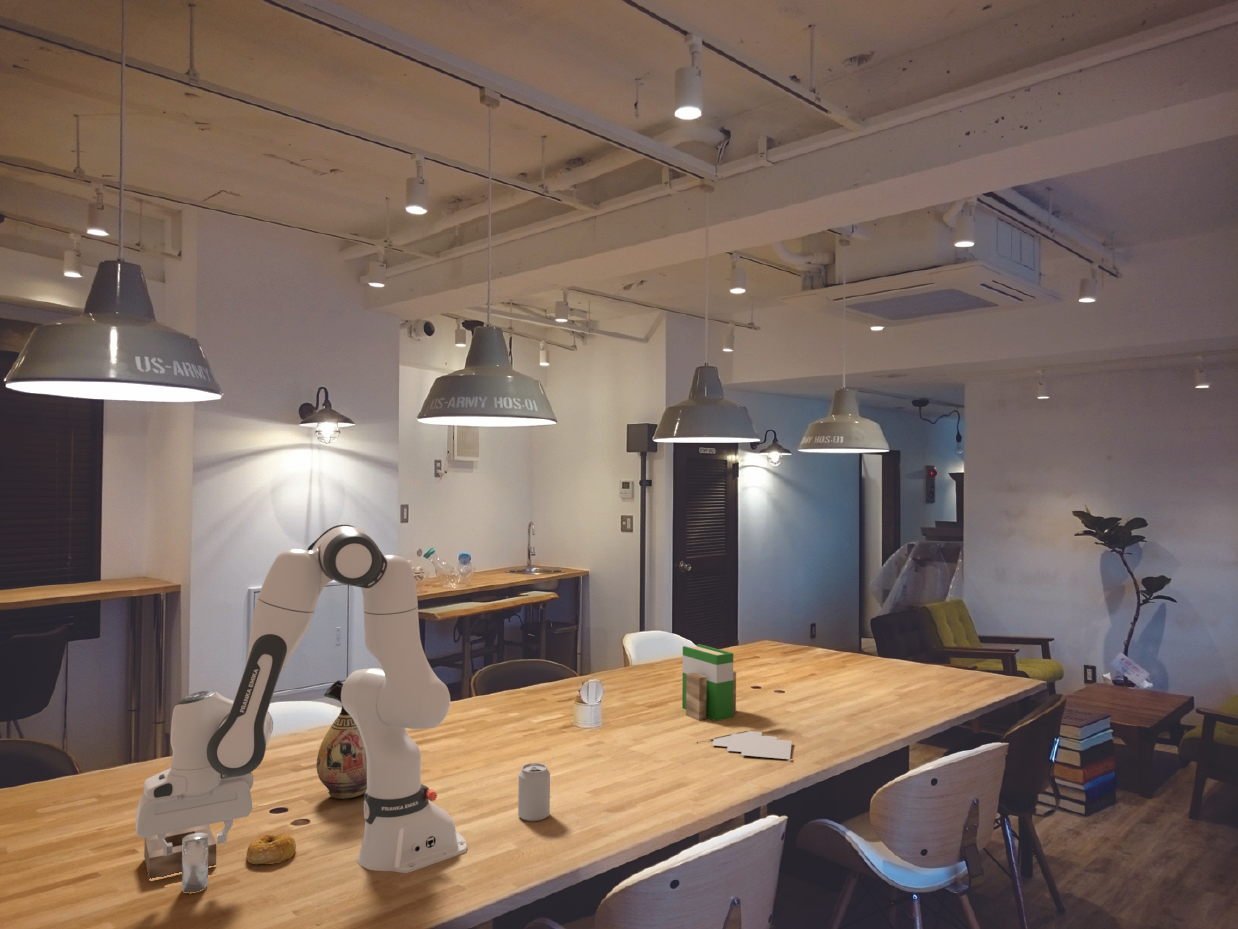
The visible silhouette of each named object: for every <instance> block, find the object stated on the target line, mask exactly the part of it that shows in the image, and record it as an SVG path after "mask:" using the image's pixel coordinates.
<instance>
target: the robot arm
mask: <svg viewBox="0 0 1238 929" xmlns="http://www.w3.org/2000/svg"><path fill="white" fill-rule="evenodd" d="M333 581H335V582H337V583H339V584H341V585H345V586H351V587H358V588H360V590H361V592H362V593H361V594H362V597H363V599H362V603H363V609H362V610H363V622H364V623H363V625H364V626H363V627H364V643H365V647H366V649H367V651H368V652H369V653H370V655H372V656H373V657H374V658H375V660H376V661H377V662H378V663H379V666H380V667H381V668H380V667H379V668H378V667H371V668H362V669H361V668H360V669H357V670H354V671H353V672H352V673H350V674H349V675H348V676H347V677H346V678H345V680H344V682H343V687H342V690H341V702H342V703H341V702H340V703H341V707H342V706H343V708H344V709H345V710H346V711H347V712H348V714H349V715H350V716H351V717H352V719H353V720H354V722H355V724H356V726H357V728H358V730H359V732H360V735H361V738H362V741H363V744H364V748H365V753H366V762H367V790H366V791H365V793H364V800H363V816H364V817H363V818H364V820H365V821H364V830H363V836H362V842H361V847H360V849H359V854H358V856H357V862H358V864H359V865H360V866H361V867H362V866H363V867H362V868H364V869H366V870H370V871H376V872H397V873H399V874H408V873H412V872H414V871H418V870H421V869H423V868H425V867H428V866H432V865H434V864H436V863H440V862H442V861H445V860H449V859H451V858H454V857H456V856H459V855H462V854H465V853H466V852H467V850H468V844H467V841H466V839H465V838H464V836H462V834H460V833H459V832H458V831H457V829H456V825H455V821H454V819H453V818H452V817H451V815H449V813H448V812H446V811H445V810H444V809H443V808H441V807H439V806H437V805H436V804H434V803H433V802H434V801H436V800H437V798H438V794H437V792H436V791H435V790H434V789H432V788H429V786H427V785H425V784H423V783H422V782H421V781H422V752H421V750H420V747H419V745H418V744H417V743H416V742H415V740H413V739H412V738H411V737H410V735H409V733H408V732H407V729H409V730H426V729H435V728H436V727H438V726H439V725H441V723H443V722H444V721H445V719H446V717H447V715H448V714H449V710H450V706H451V694H450V691H449V688H448V686H447V685H446V684H445V683H444V682H443V681H442V680H441V679H440V678H439V677H438V676H437V675H436V673H435V672H434V671H433V668H432V667H431V664H430V663H429V661H428V659H427V656H426V654H425V651H424V649H423V645H422V640H421V633H420V622H419V604H418V602H419V601H418V592H417V585H416V580H415V576H414V571H413V567H412V565H411V563H410V561H409V560H407V558H405V557H403V556H399V555H396V554H388V555H387V554H383V552H382V550H381V549H380V547H379V546H378V545H377V544H376V542H375V541H374V540H373V538H371V536H370V535H369V534H368V533H367V532H366V531H365V530H362V528H358V527H356V526H353V525H350V524H339V525H338V524H337V525H334V526H332V527H330V528H328V529H327V530H325V531H324V532H323V533H322V534H321V535H319V537H317V539H316V540H314V542H312V543H311V544H310V545H309V546H308V547H307V550H306V549H302V548H301V549H300V548H291V549H286V550H283V551H282V552H280V553H279V554H278V555H277V556H276V558H275V559H274V561H273V563H272V564H271V567H270V569H269V570H268V572H267V573H266V576H265V579H264V580H263V583H262V585H261V588H260V591H259V593H258V597H257V599H256V603H255V607H254V610H253V615H252V618H251V626H250V634H249V641H248V650H247V656H246V663H245V667H244V672H243V674H242V677H241V680H240V682H239V686H238V689H237V691H236V694H235V697H234V700H233V699H230V698H227V697H226V696H223V695H222V694H220V693H219V692H218V691H215V690H202V691H198V692H194V693H190V694H189V695H186V696H185V697H183V698H181V699H180V700H179V701H178V702H177V703H176V704H175V705H174V708H173V710H172V714H171V715H172V716H171V723H170V724H171V725H170V747H171V750H172V758H171V760H170V766H169V768H168V769H165V770H162V771H161V772H159V773H156V774H154V775H152V776H150V777H147V778H146V779H145V780H144V783H143V794H142V796H141V797H140V799H139V801H138V804H137V809H136V817H135V833H136V835H137V837H139V838H141V839H145V837H150V836H154V835H157V839H158V841H159V843H160V844H161V845H162V847H163V855H164V856H167V855H171V854H173V851H172V849H173V845H172V842H170V843H167V842H166V841H165V840H164V839H165V838H166V833H169V832H174V831H179V830H184V829H189V828H193V827H198V826H203V825H208V824H209V825H213V824H217V823H224V824H223V825H224V826H223V828H222V830H221V831H219V832H217V833H216V836H217V837H216V838H217V840H216V843H217V844H218V845H221V844H225V843H227V839H228V837H227V835H228V834H229V832H230V830H231V829H232V827H233V825H234V820H237V819H241V818H245V817H249V816H250V814H251V813H252V812H253V798H252V793H251V789H252V787H253V785H254V774H253V771H255V770H256V769H257V768H258V767H259V766H260V765H261V763H262V761H263V760H264V757H265V753H266V750H267V746H268V743H269V741H270V738H271V736H272V733H273V728H274V721H273V718H272V715H271V714H270V712H269V709H270V708H269V707H270V704H271V701H272V699H273V696H274V693H275V690H276V687H277V684H278V681H279V679H280V676H281V674H282V672H283V671H284V669H285V667H286V665H287V663H288V662H289V661H290V659H291V657H292V656H293V654H294V653H295V652H296V650H297V648H298V647H299V645H300V644H301V643H302V641H303V638H304V637H305V635H306V633H307V631H308V629H309V627H310V625H311V622H312V620H313V616H314V615H315V611H316V607H317V605H318V601H319V598H320V596H321V593H322V592H323V590H324V588H325V587H326V586H327V585H328V584H329V583H331V582H333Z"/></svg>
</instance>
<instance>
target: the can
mask: <svg viewBox="0 0 1238 929" xmlns="http://www.w3.org/2000/svg"><path fill="white" fill-rule="evenodd" d="M517 791H518V794H517V795H518V796H517V797H518V799H517V800H518V802H517V807H518V808H517V813H518V814H517V816H518V817H519V818H521V819H522V820H523V821H526V822H539V821H543V820H546V819H547V818H548V817H549V816H550V812H551V811H550V810H551V808H550V806H551V805H550V803H551V800H550V799H551V772H550V771H549V770H548V765H546V764H545V763H541V762H540V763H539V762H531V763H529V762H528V763H526V764H524V765H522V766H521V770H520V771H519V772H518V790H517Z"/></svg>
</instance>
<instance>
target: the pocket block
mask: <svg viewBox="0 0 1238 929" xmlns="http://www.w3.org/2000/svg"><path fill="white" fill-rule="evenodd" d="M194 833H206V834H208V867H209V866H214V865H216V866H217V841H216V839H215V837H214V835H213V832H212V830H211V827H210V824H208V825H203V826H198V827H193V828H189V829H184V830H179V831H174V832H169V833H166V838H165V839H164V840H165V841H166V842H167V843H170V842H172V845H173V849H172V851H173V854H171V855H167V856H164V855H163V847H162V845H161V844H160V843H159V841H158V839H157V835H154V836H150V837H145V838H144V853H143V854H144V858H145V860H144V863H145V862H146V865H145V867H146V866H147V870H146V872H147V871H148V874H147V876H148V875H149V879H150V878H151V879H152V878H156V877H164V876H167V875H171V874H174V873H179V872H182V839H183V838H184V837H185V836H187V835H190V834H194ZM144 858H143V859H144ZM149 879H148V880H149Z"/></svg>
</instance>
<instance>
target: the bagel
mask: <svg viewBox="0 0 1238 929" xmlns="http://www.w3.org/2000/svg"><path fill="white" fill-rule="evenodd" d="M295 840H296V839H295V838H294V837H293V836H292V835H289V834H285V833H279V834H278V833H277V834H276V833H274V834H263V835H259V836H258V838H256V839H255V840H253V841H251V842H250V843H249V844H248V847H247V851H246V860H247V862H248V864H252V863H254V864H253V865H258V864H272V865H275V864H274V863H277V864H279V862H281V861H283V862H285V861H287V860H286V859H288V860H290V859H291V858H292V857H293V856H294V854H295V852H296V849H297V842H296V841H295ZM284 860H285V861H284ZM281 863H282V862H281Z"/></svg>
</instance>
